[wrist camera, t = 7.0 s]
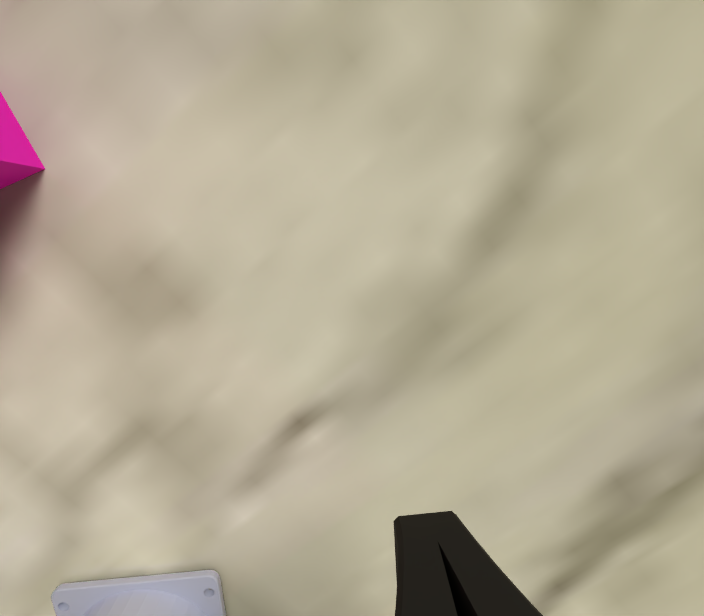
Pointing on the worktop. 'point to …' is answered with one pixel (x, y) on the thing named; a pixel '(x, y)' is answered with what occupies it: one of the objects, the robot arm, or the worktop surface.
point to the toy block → (15, 149)
